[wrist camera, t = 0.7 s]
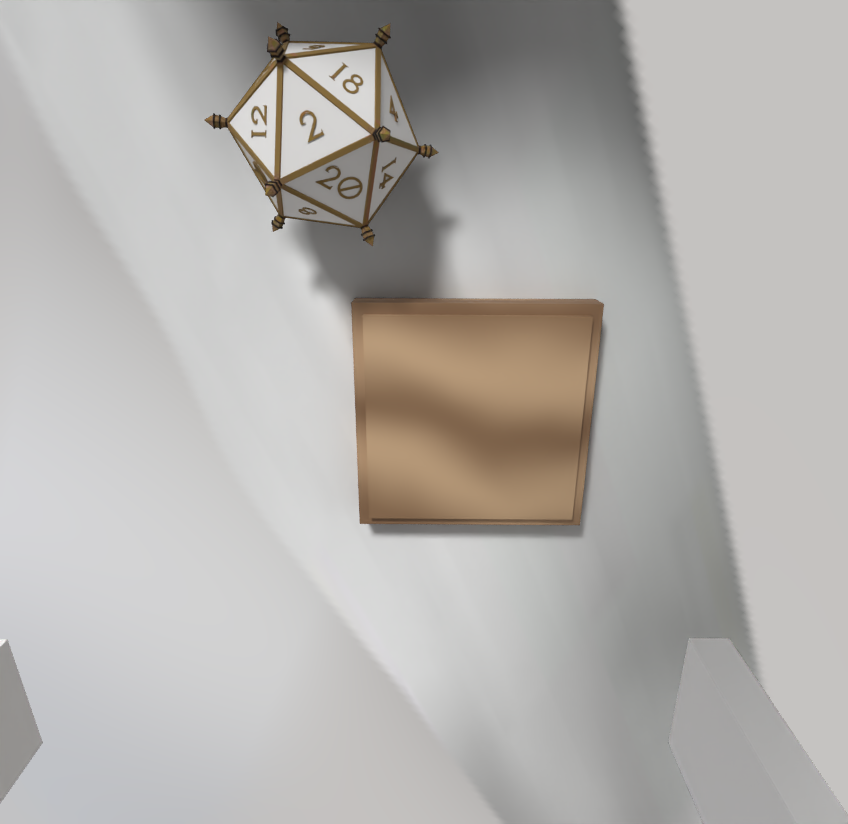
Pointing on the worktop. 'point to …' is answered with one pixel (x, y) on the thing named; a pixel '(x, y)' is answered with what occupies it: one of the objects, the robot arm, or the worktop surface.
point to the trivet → (473, 408)
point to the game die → (325, 130)
